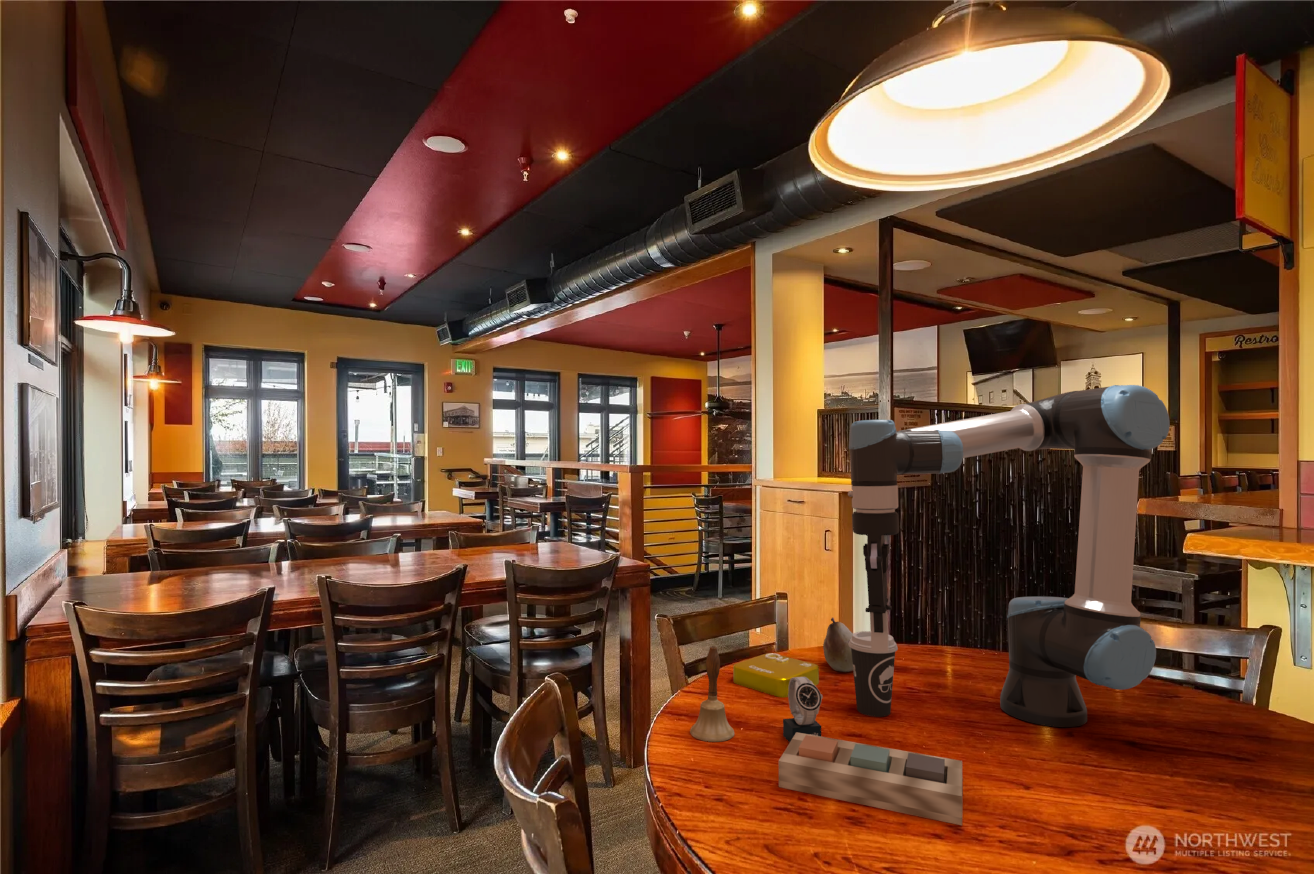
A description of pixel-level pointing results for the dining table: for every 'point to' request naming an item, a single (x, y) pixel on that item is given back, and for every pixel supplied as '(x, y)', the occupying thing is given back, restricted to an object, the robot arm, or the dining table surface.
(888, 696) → the coffee cup
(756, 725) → the dining table surface
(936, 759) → the charcoal button
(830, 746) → the terracotta button
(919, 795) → the button panel
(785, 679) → the element tile
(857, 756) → the teal button
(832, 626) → the fruit
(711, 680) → the hand bell
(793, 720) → the watch
